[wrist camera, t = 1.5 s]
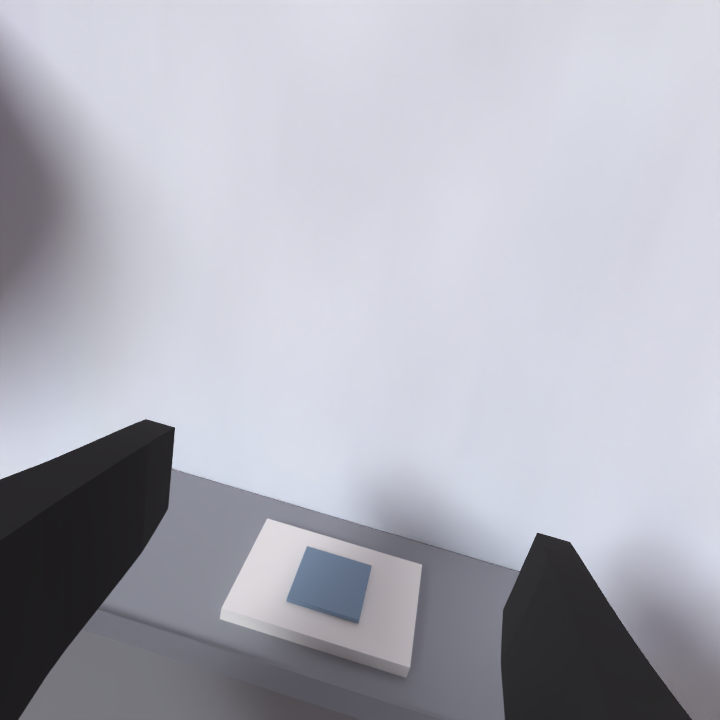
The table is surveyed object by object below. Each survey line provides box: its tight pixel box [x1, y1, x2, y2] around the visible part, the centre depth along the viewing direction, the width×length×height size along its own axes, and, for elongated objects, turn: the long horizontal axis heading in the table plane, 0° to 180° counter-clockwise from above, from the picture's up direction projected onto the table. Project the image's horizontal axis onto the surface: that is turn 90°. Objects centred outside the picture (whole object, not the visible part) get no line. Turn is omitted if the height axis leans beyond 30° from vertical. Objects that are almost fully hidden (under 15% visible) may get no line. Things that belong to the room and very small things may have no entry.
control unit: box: [19, 469, 520, 720], centre depth 17 cm, size 17×5×7 cm, turn 78°
